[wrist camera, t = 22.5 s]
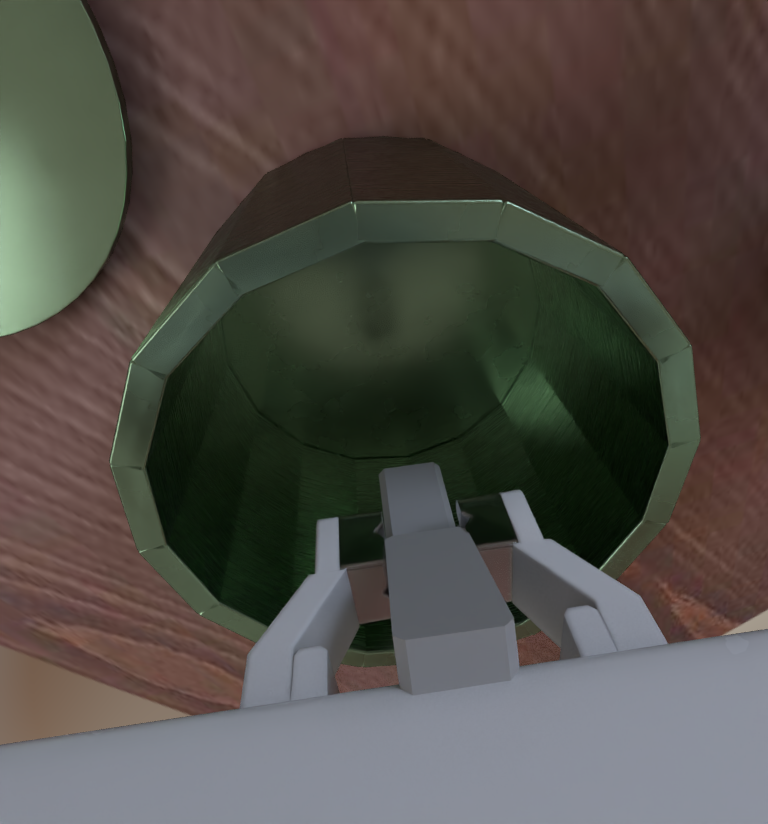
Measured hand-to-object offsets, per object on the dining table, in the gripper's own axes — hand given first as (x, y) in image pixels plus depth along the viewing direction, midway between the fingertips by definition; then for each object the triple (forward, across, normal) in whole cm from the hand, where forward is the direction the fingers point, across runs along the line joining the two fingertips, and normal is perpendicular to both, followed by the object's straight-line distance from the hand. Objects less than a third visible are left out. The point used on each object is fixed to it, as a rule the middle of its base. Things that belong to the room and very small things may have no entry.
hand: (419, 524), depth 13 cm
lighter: (+3, 0, +1) cm, 3 cm away
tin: (+12, 0, 0) cm, 12 cm away
